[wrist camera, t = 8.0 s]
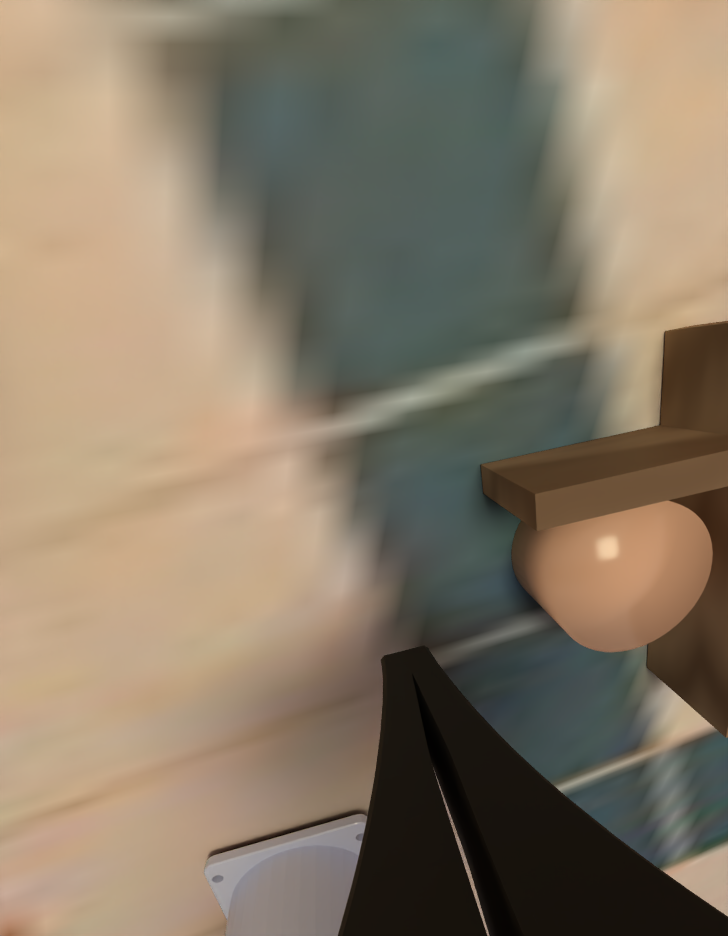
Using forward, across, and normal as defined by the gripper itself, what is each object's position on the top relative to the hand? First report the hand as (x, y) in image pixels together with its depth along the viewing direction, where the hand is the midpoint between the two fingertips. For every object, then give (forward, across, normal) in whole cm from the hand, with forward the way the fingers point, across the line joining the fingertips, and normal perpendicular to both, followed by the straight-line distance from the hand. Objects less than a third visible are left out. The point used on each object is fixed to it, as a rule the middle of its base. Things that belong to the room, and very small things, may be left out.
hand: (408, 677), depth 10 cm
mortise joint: (+4, -9, 0) cm, 10 cm away
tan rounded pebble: (+4, -9, 0) cm, 10 cm away
